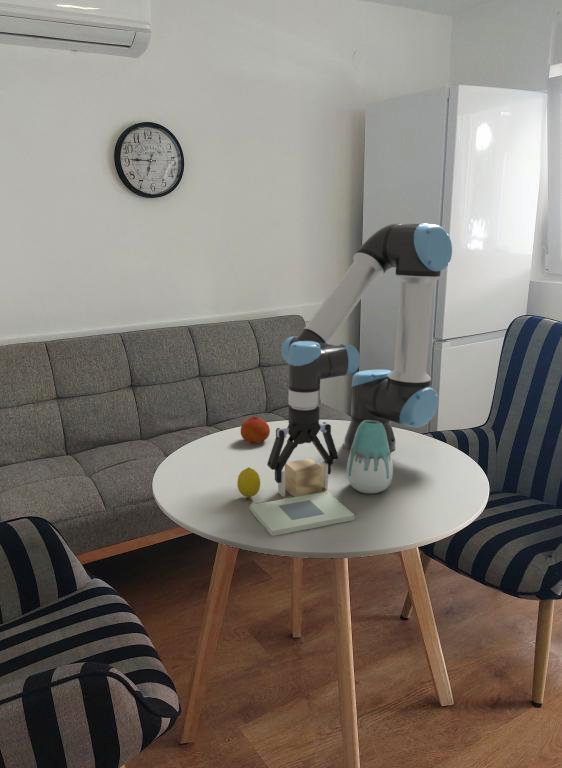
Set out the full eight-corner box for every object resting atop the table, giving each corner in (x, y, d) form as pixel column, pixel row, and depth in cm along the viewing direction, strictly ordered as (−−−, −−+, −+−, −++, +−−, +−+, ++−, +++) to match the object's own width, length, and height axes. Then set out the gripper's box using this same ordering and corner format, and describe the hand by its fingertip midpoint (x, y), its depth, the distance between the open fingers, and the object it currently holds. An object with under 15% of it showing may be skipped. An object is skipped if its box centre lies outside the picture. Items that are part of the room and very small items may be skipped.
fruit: (262, 448, 191) (262, 422, 189) (235, 444, 195) (235, 418, 193) (275, 439, 199) (275, 414, 197) (249, 435, 202) (249, 411, 200)
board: (326, 496, 158) (326, 491, 158) (354, 519, 146) (354, 514, 145) (249, 509, 151) (249, 504, 150) (272, 536, 138) (272, 530, 138)
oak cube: (309, 484, 165) (310, 458, 164) (321, 494, 159) (322, 468, 158) (284, 488, 163) (284, 462, 161) (296, 499, 157) (296, 472, 155)
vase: (365, 476, 170) (367, 411, 166) (401, 488, 162) (404, 420, 158) (336, 488, 163) (338, 420, 158) (373, 502, 155) (375, 431, 150)
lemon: (237, 494, 159) (236, 463, 157) (259, 493, 160) (259, 463, 158) (237, 503, 154) (237, 472, 152) (261, 502, 154) (260, 471, 152)
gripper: (339, 397, 163) (337, 477, 169) (253, 406, 154) (253, 491, 160) (354, 404, 157) (351, 488, 162) (264, 415, 148) (264, 503, 153)
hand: (303, 490), depth 161 cm, fingers open, 11 cm apart
